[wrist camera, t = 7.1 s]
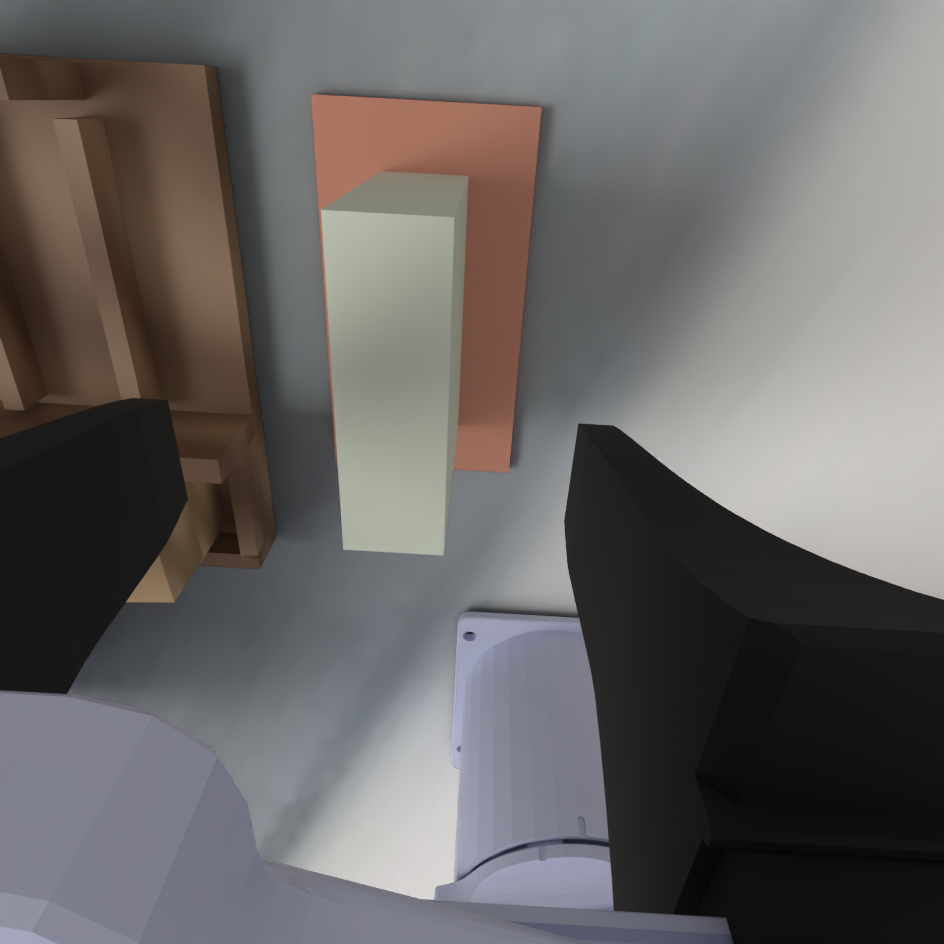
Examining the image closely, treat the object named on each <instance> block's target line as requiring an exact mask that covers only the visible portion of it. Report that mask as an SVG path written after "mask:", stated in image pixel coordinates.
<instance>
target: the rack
mask: <svg viewBox="0 0 944 944" xmlns="http://www.w3.org/2000/svg"><path fill="white" fill-rule="evenodd" d="M130 398H144V399H161V400H168V403H169V408H170V413H171V418H172V423H173V428H174V433H175V438H176V442H177V447H178V452H179V457H180V462H181V467H182V472H183V477H184V482H198V483H215V484H219V490H220V496H221V501H222V507H223V513H224V518H225V525H224V527H223V528H222V530H221V531H220V533H219V535H218V536H217V538H216V539H215V541H214V543H213V544H212V546H211V547H210V549H209V550H208V552H207V554H206V555H205V557H204V558H203V560H202V562H200V563H199V565H198V566H214V567H231V568H248V569H260V568H261V566H262V564H263V562H264V560H265V558H266V556H267V554H268V552H269V550H270V548H271V546H272V544H273V542H274V540H275V538H276V536H277V535H276V527H275V519H274V512H273V504H272V496H271V488H270V480H269V473H268V465H267V457H266V449H265V442H264V434H263V426H262V418H261V410H260V403H259V395H258V387H257V379H256V372H255V364H254V356H253V348H252V341H251V333H250V325H249V317H248V309H247V302H246V294H245V286H244V278H243V271H242V263H241V255H240V247H239V239H238V232H237V224H236V216H235V208H234V201H233V193H232V185H231V177H230V169H229V162H228V154H227V146H226V138H225V131H224V123H223V115H222V107H221V100H220V92H219V84H218V76H217V68H216V67H215V66H206V65H189V64H171V63H154V62H136V61H118V60H100V59H82V58H64V57H46V56H29V55H11V54H0V438H2V437H5V436H8V435H11V434H15V433H18V432H21V431H24V430H27V429H29V428H32V427H35V426H38V425H41V424H44V423H47V422H50V421H53V420H56V419H59V418H62V417H65V416H68V415H71V414H74V413H77V412H80V411H83V410H86V409H90V408H93V407H96V406H100V405H103V404H107V403H110V402H114V401H119V400H124V399H130Z"/></svg>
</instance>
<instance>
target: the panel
mask: <svg viewBox="0 0 944 944" xmlns="http://www.w3.org/2000/svg"><path fill="white" fill-rule="evenodd" d="M468 177H469V176H463V175H445V174H427V173H409V172H391V171H380V172H378V173H377V174H375V175H374V176H372V177H371V178H369V179H368V180H366V181H365V182H363V183H361V184H360V185H358V186H357V187H355V188H354V189H352V190H351V191H349V192H348V193H346V194H345V195H343V196H341V197H340V198H338V199H337V200H335V201H334V202H332V203H331V204H329V205H328V206H326V207H325V208H323V209H321V219H322V234H323V249H324V264H325V279H326V295H327V310H328V325H329V340H330V355H331V370H332V386H333V401H334V416H335V431H336V446H337V461H338V477H339V492H340V507H341V522H342V537H343V550H358V551H375V552H392V553H410V554H427V555H444V548H445V539H446V530H447V521H448V512H449V504H450V495H451V486H452V477H453V468H454V459H455V450H456V441H457V432H458V419H459V395H460V371H461V347H462V322H463V298H464V274H465V250H466V226H467V201H468Z"/></svg>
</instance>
